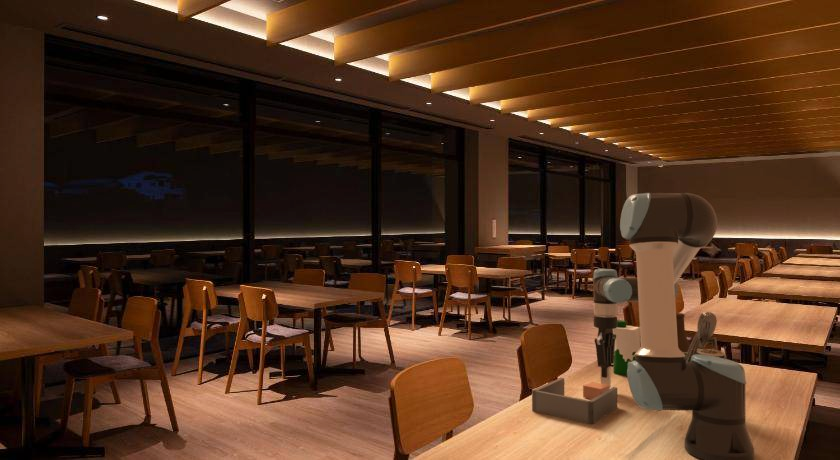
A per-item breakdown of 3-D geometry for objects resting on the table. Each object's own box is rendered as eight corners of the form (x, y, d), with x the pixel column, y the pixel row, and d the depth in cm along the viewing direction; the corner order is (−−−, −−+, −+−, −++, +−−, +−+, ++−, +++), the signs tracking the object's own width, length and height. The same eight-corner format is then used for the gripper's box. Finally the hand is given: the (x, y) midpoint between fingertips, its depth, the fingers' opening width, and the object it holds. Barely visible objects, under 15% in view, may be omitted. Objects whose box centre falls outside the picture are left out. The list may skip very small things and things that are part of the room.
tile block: (600, 401, 176) (600, 389, 176) (583, 397, 180) (583, 385, 180) (609, 397, 180) (609, 385, 180) (592, 394, 185) (592, 381, 185)
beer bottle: (677, 384, 195) (677, 315, 195) (662, 378, 203) (662, 312, 203) (696, 382, 197) (696, 314, 197) (680, 377, 205) (680, 311, 205)
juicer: (677, 386, 180) (696, 302, 170) (711, 404, 172) (734, 317, 162) (661, 397, 174) (680, 311, 164) (695, 416, 166) (718, 326, 156)
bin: (591, 424, 155) (591, 402, 155) (532, 410, 167) (532, 390, 167) (617, 407, 170) (617, 387, 170) (560, 396, 181) (560, 377, 181)
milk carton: (618, 371, 213) (617, 319, 213) (642, 375, 208) (642, 321, 208) (610, 376, 206) (610, 322, 206) (635, 380, 201) (635, 324, 201)
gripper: (602, 312, 194) (602, 380, 194) (586, 316, 184) (586, 388, 184) (623, 314, 189) (624, 384, 189) (609, 318, 179) (609, 392, 179)
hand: (605, 386), depth 186 cm, fingers closed
